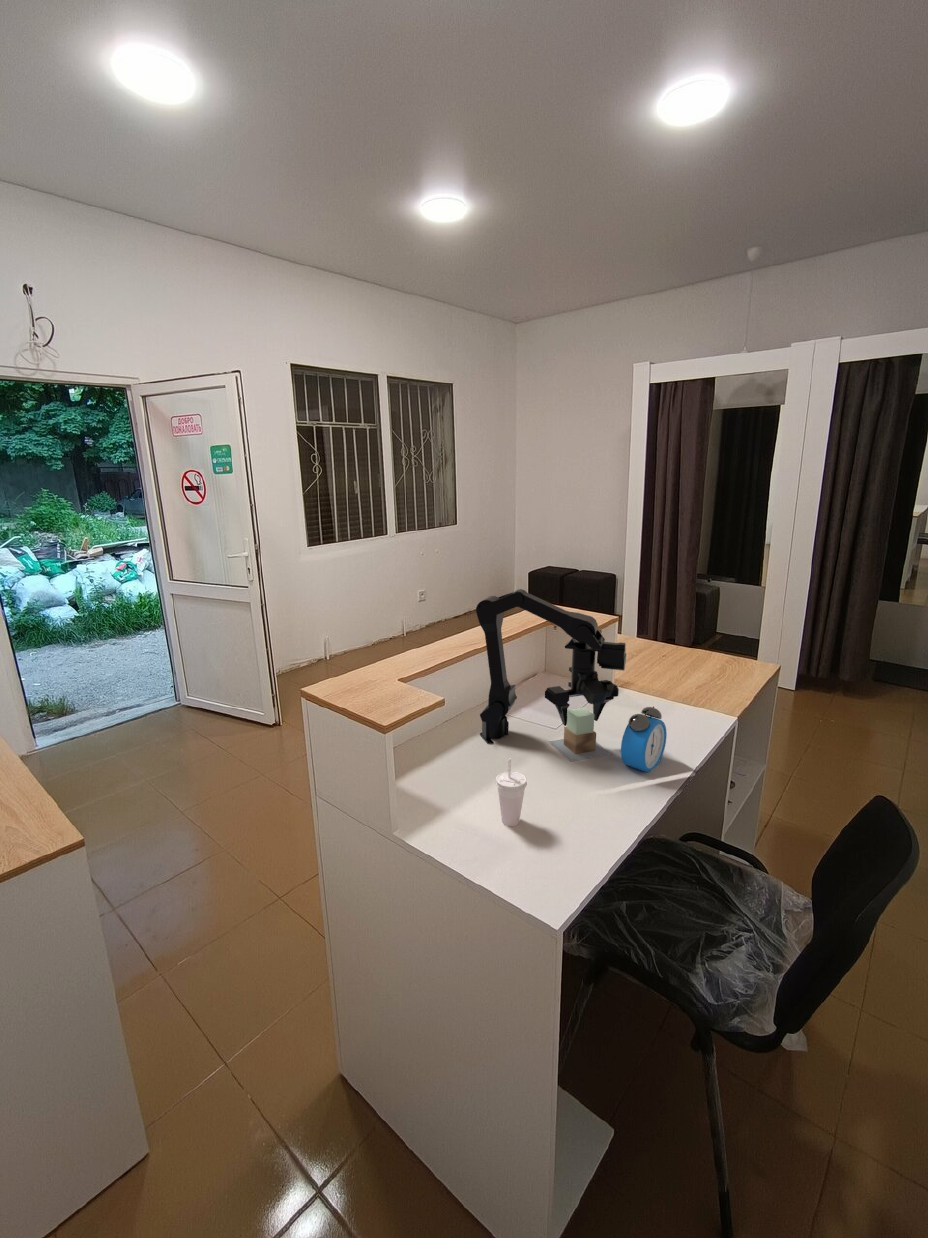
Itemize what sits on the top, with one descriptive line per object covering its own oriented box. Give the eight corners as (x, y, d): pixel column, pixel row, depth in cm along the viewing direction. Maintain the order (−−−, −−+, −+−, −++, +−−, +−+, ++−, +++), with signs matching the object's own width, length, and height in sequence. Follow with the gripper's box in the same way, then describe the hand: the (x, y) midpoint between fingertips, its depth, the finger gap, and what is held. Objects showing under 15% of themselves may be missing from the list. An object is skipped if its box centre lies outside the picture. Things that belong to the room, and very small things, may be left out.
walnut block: (575, 754, 145) (576, 736, 144) (563, 744, 150) (564, 727, 149) (595, 750, 147) (596, 733, 145) (583, 741, 152) (584, 724, 151)
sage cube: (576, 735, 144) (577, 717, 143) (566, 727, 149) (567, 710, 148) (593, 732, 146) (594, 714, 145) (583, 725, 150) (584, 707, 149)
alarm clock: (641, 781, 133) (646, 722, 130) (617, 773, 137) (621, 715, 134) (665, 762, 143) (669, 706, 139) (642, 754, 147) (646, 700, 143)
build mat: (570, 765, 141) (570, 761, 141) (548, 744, 152) (548, 741, 152) (611, 757, 145) (611, 754, 145) (586, 738, 156) (587, 735, 156)
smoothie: (506, 808, 122) (507, 749, 119) (531, 819, 118) (533, 758, 115) (489, 822, 117) (489, 760, 114) (514, 833, 113) (515, 770, 110)
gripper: (566, 680, 133) (564, 741, 136) (633, 671, 139) (629, 730, 142) (544, 666, 143) (542, 723, 147) (607, 658, 149) (604, 713, 153)
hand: (580, 722), depth 147 cm, fingers open, 9 cm apart
